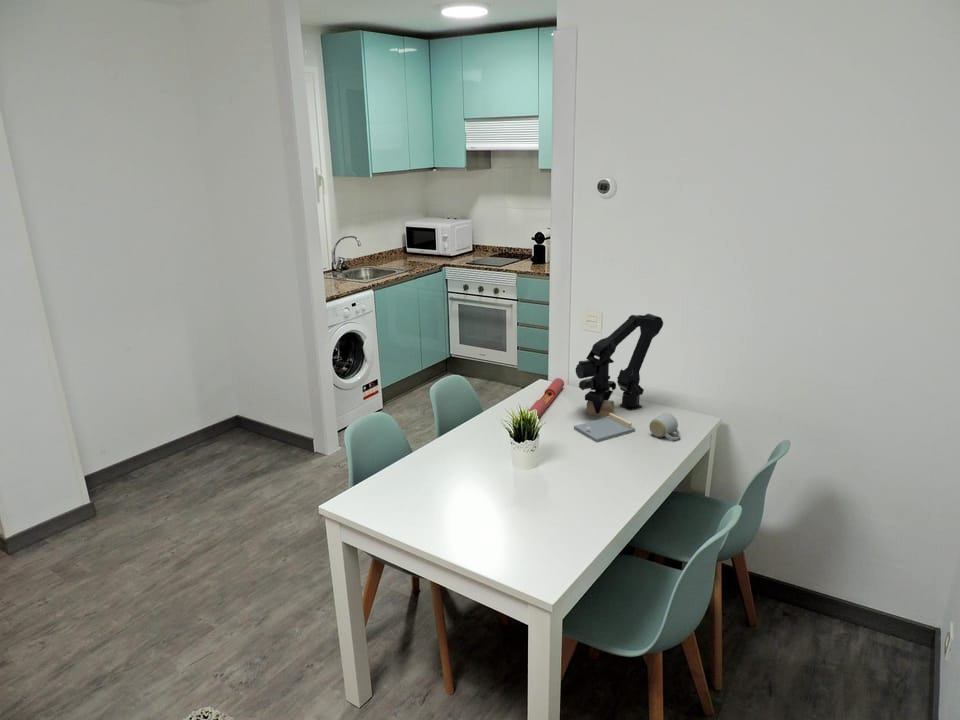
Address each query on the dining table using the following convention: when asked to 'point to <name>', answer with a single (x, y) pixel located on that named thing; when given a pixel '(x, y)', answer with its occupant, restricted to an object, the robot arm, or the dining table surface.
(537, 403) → the blood vessel
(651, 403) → the dining table surface
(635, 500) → the dining table surface
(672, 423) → the ceramic mug
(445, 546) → the dining table surface
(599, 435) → the grey flat panel
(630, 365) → the robot arm
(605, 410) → the frame
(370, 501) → the dining table surface
